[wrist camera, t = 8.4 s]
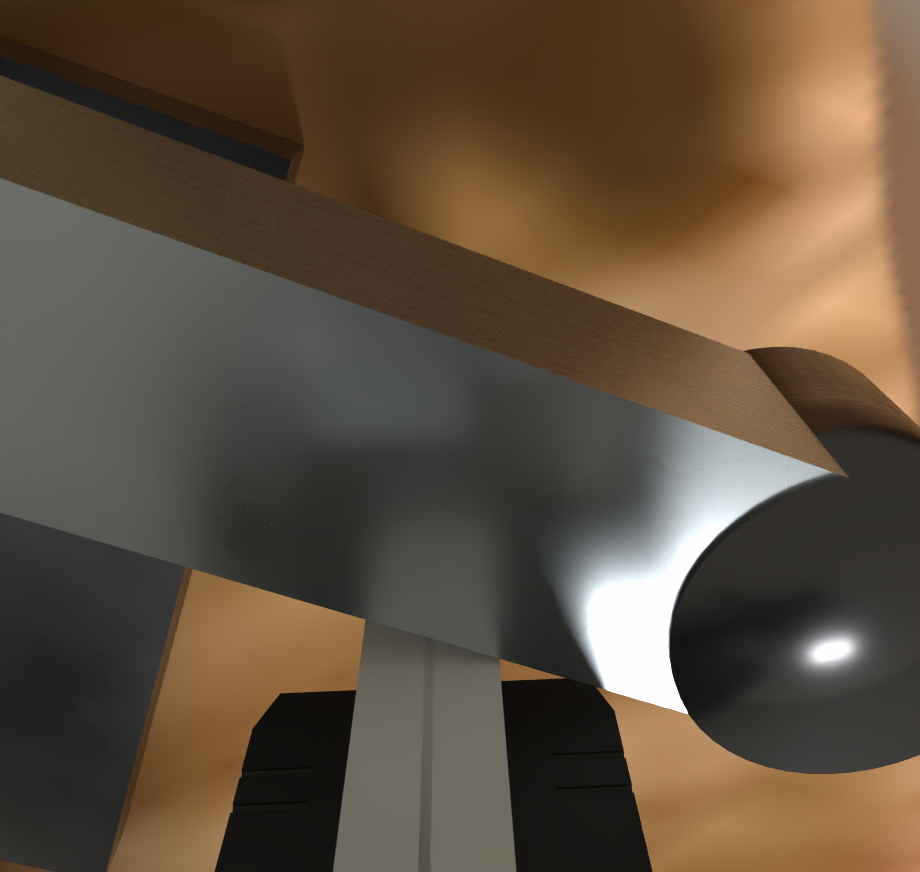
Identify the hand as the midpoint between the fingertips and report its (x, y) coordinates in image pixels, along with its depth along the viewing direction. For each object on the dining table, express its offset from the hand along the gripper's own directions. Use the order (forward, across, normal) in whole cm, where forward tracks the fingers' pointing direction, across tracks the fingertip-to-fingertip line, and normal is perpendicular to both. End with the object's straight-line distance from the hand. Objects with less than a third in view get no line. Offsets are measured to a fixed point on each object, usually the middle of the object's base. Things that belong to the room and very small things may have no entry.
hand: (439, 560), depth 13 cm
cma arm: (-1, -2, +4) cm, 5 cm away
